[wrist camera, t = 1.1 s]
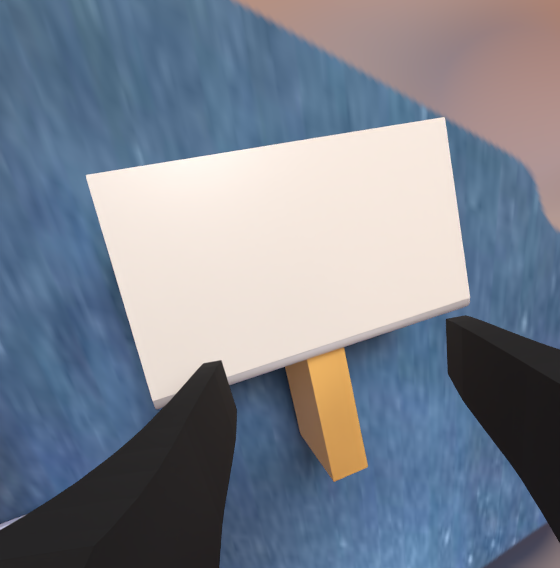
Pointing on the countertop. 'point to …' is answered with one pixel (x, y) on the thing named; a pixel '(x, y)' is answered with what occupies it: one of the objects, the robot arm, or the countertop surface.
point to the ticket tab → (328, 412)
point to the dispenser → (282, 249)
